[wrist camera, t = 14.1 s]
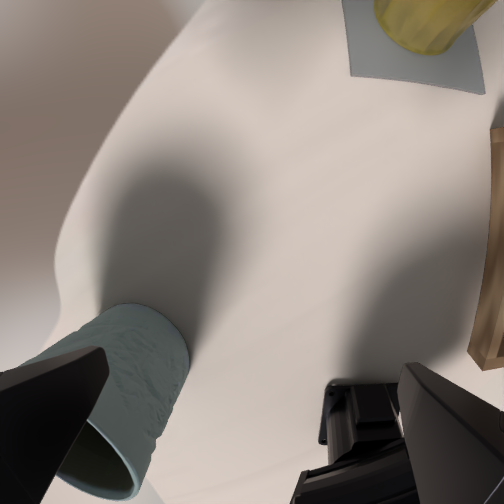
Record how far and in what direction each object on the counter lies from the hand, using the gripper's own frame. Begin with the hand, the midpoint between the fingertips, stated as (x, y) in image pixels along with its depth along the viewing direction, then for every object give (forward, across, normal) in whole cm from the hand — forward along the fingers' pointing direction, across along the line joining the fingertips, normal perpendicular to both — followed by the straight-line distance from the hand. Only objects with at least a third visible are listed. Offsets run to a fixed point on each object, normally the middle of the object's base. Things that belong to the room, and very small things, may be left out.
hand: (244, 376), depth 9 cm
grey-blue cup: (+13, +11, +8) cm, 19 cm away
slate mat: (+13, -10, -17) cm, 24 cm away
